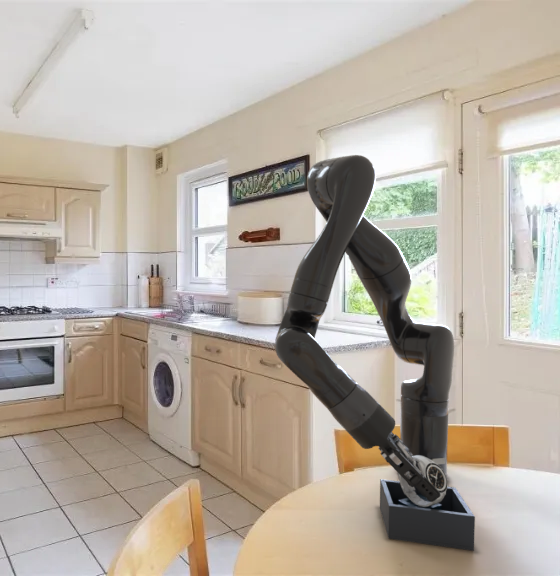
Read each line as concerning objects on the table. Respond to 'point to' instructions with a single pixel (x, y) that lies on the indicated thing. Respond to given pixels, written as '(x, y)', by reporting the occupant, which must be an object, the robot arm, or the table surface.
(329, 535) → the table surface
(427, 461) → the watch
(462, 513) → the box
